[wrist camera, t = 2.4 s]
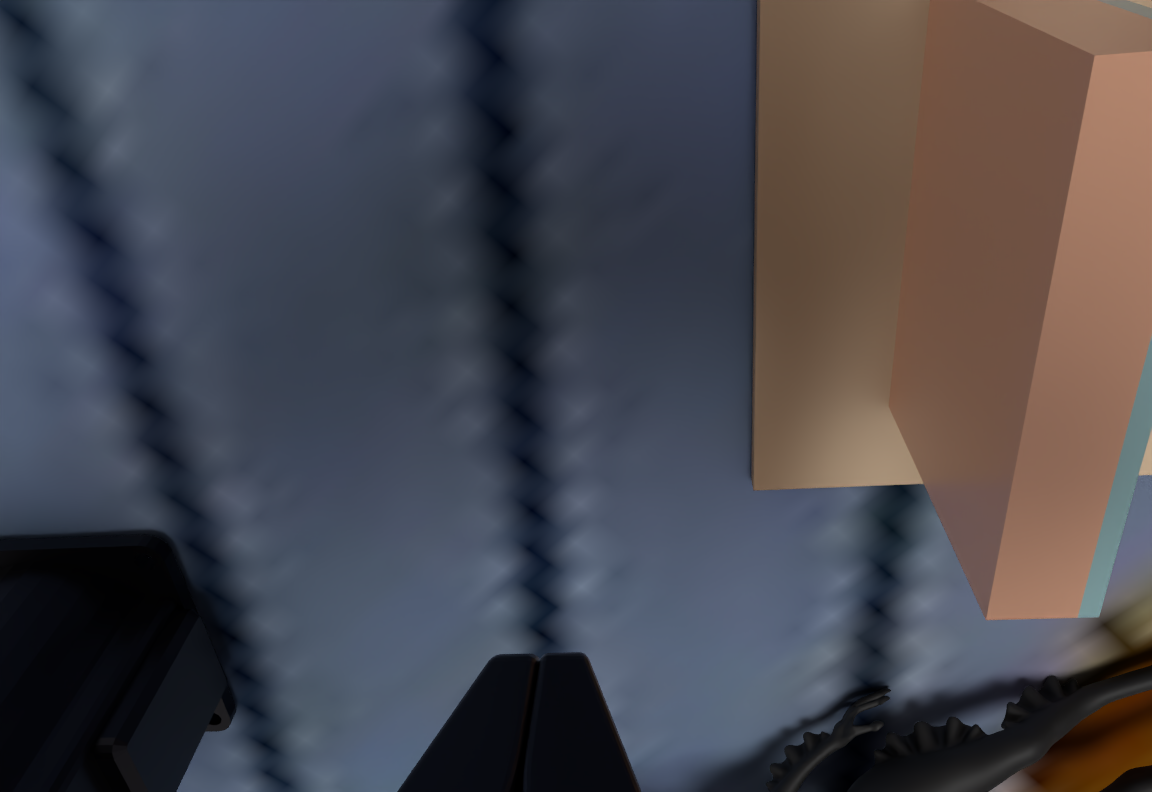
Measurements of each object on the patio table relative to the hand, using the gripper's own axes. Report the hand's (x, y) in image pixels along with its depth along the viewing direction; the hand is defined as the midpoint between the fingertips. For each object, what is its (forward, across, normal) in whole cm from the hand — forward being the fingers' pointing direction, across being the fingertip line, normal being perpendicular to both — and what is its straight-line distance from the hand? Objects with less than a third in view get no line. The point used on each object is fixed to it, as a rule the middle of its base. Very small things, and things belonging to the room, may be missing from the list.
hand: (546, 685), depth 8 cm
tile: (+10, -7, 0) cm, 12 cm away
